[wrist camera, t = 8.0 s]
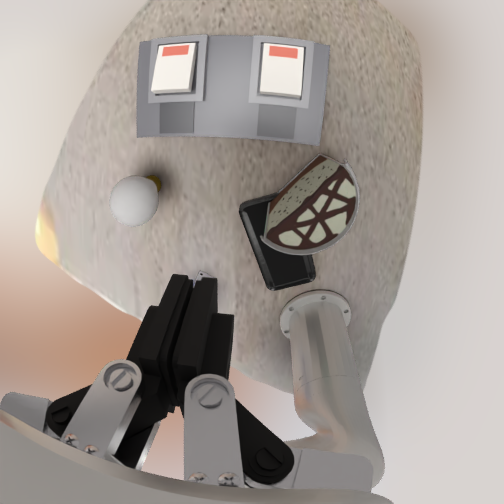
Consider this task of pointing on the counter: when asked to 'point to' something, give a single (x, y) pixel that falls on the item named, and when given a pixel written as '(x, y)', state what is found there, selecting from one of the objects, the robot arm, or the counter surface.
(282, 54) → the rocker
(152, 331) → the robot arm
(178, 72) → the rocker
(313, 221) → the food container
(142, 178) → the light bulb
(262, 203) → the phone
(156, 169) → the counter surface
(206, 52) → the rocker switch panel
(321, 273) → the counter surface
